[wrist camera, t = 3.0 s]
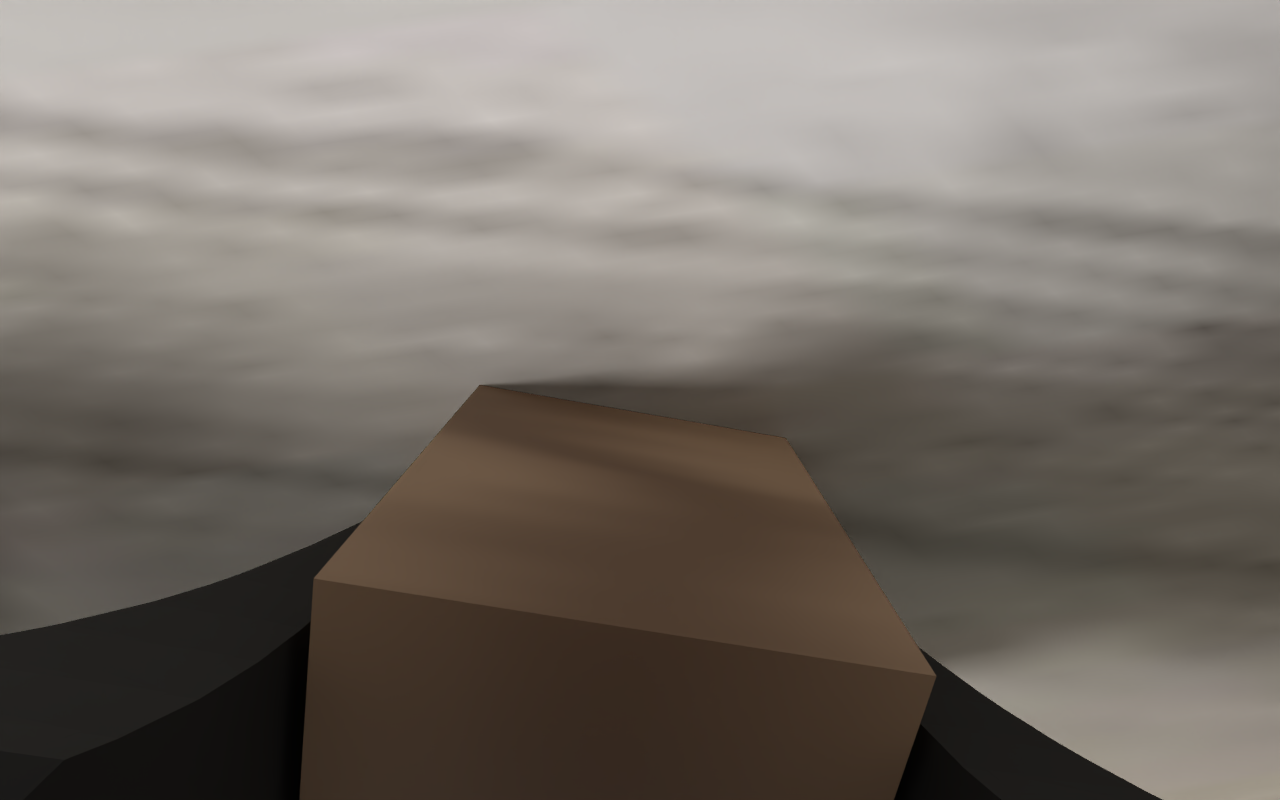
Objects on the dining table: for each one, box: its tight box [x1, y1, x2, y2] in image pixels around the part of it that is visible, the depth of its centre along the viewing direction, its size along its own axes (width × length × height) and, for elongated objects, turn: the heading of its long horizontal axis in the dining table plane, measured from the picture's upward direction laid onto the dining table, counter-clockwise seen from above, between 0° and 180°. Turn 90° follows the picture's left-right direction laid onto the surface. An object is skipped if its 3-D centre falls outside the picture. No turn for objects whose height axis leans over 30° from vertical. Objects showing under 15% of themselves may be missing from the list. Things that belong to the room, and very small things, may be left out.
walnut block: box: [299, 385, 936, 800], centre depth 9 cm, size 5×5×6 cm
